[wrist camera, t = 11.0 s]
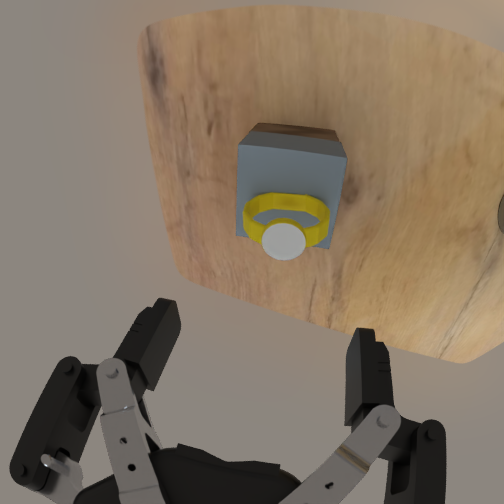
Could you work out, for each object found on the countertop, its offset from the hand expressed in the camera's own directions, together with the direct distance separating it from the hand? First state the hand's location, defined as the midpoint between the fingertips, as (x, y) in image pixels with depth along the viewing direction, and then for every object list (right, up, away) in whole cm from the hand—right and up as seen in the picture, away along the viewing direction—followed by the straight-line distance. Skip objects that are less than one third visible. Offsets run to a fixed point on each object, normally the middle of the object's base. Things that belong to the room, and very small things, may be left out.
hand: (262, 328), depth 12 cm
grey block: (+3, +10, +14) cm, 18 cm away
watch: (+2, +7, +10) cm, 13 cm away
